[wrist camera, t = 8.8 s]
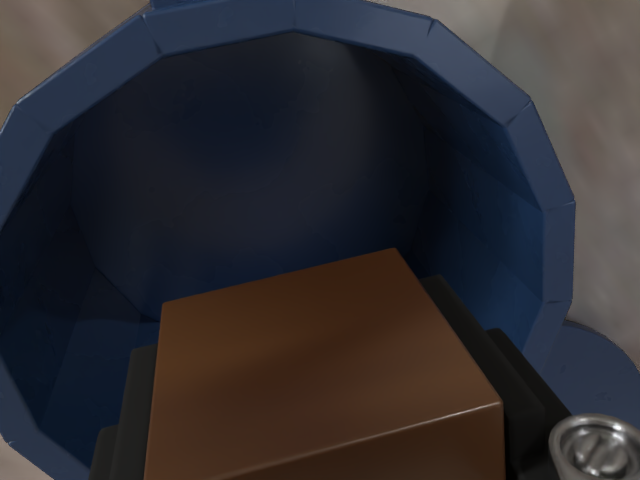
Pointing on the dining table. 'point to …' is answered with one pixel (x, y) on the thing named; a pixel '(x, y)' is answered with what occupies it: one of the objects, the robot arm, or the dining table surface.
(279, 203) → the pot
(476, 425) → the block
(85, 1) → the dining table surface
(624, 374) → the lid
